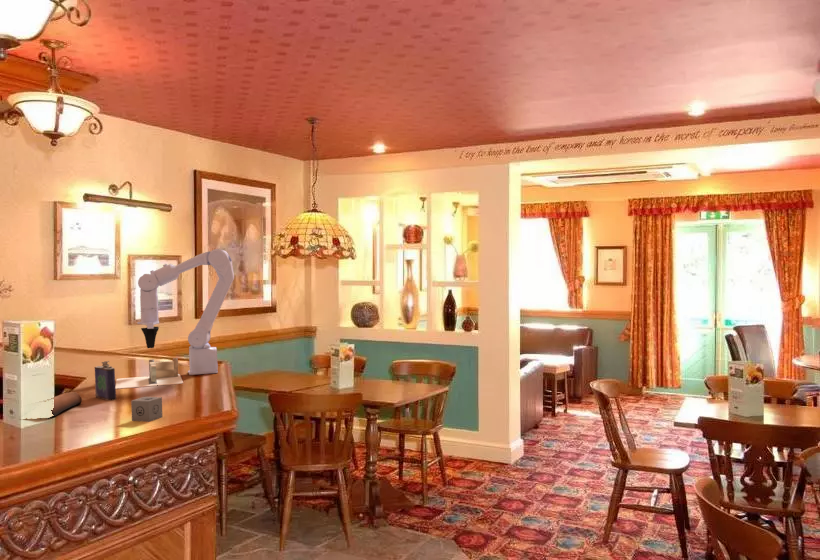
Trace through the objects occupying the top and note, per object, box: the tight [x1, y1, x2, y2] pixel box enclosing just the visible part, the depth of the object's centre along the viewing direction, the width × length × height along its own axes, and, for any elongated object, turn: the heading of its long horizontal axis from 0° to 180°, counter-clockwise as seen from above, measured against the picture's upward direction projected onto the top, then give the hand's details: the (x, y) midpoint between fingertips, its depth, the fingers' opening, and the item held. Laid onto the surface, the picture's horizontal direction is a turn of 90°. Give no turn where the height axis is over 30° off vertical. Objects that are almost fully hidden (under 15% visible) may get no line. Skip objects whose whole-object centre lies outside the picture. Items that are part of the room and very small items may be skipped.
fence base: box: [148, 357, 179, 379], centre depth 229 cm, size 9×2×6 cm, turn 112°
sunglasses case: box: [51, 391, 83, 417], centre depth 178 cm, size 18×7×7 cm, turn 5°
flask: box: [94, 360, 117, 401], centre depth 195 cm, size 9×3×11 cm, turn 50°
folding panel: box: [150, 361, 156, 382], centre depth 222 cm, size 10×1×5 cm, turn 24°
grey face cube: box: [130, 396, 163, 423], centre depth 167 cm, size 5×5×5 cm
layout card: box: [115, 373, 184, 390], centre depth 223 cm, size 20×20×1 cm
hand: (150, 348), depth 236 cm, fingers closed
